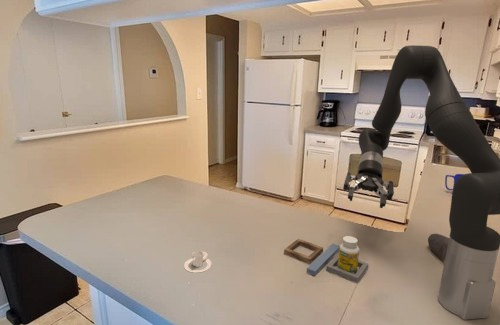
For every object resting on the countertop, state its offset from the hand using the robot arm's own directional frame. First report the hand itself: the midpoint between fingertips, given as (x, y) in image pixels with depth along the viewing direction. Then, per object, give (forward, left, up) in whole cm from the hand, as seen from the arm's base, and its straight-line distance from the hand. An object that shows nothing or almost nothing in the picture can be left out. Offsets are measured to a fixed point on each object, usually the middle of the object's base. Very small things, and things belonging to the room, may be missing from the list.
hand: (366, 202), depth 88 cm
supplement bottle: (-5, +6, -19) cm, 20 cm away
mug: (+52, -78, -19) cm, 95 cm away
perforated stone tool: (-2, -27, -19) cm, 33 cm away
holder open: (-5, +6, -18) cm, 20 cm away
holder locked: (+5, +16, -18) cm, 25 cm away
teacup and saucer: (+2, +46, -19) cm, 50 cm away
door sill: (0, +11, -18) cm, 22 cm away
